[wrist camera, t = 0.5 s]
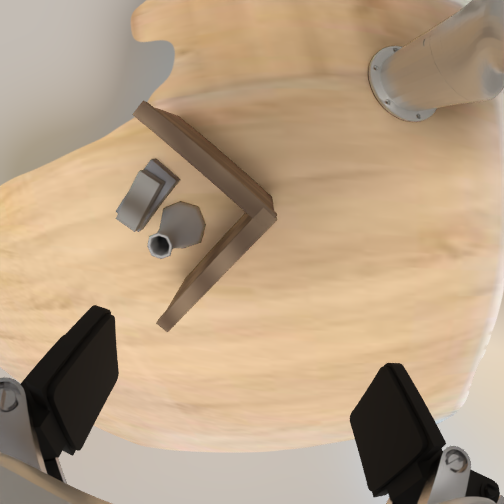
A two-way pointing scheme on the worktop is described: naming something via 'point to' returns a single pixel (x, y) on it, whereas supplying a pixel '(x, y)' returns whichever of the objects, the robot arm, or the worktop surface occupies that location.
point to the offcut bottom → (171, 182)
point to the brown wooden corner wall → (228, 182)
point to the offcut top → (140, 199)
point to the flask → (177, 229)
